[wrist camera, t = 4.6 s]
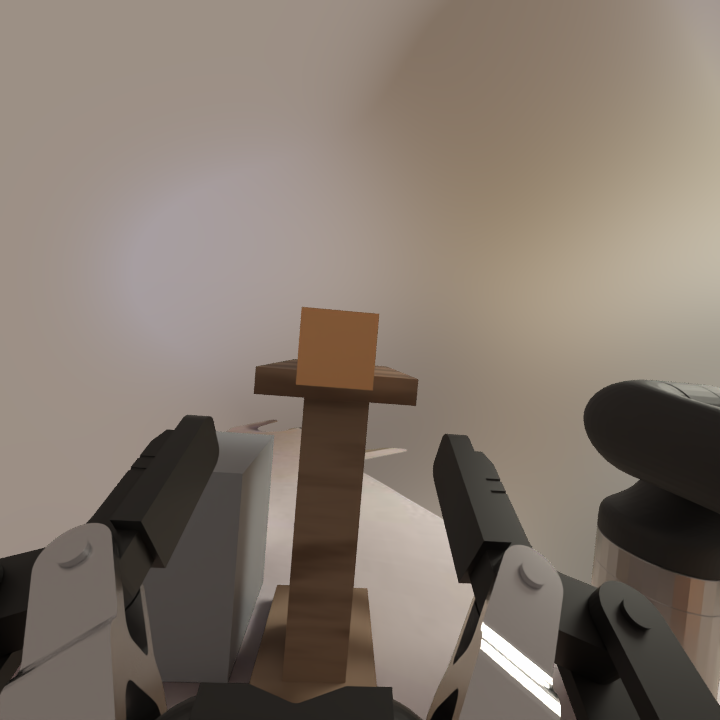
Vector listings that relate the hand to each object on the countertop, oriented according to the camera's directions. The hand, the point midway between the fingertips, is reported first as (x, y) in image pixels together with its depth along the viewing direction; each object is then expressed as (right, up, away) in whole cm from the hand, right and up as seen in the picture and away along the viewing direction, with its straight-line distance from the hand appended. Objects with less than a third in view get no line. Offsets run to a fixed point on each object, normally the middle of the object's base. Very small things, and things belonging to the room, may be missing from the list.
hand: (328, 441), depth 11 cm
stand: (-4, -30, +21) cm, 36 cm away
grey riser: (-17, -28, +25) cm, 42 cm away
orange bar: (-1, +2, +15) cm, 15 cm away
